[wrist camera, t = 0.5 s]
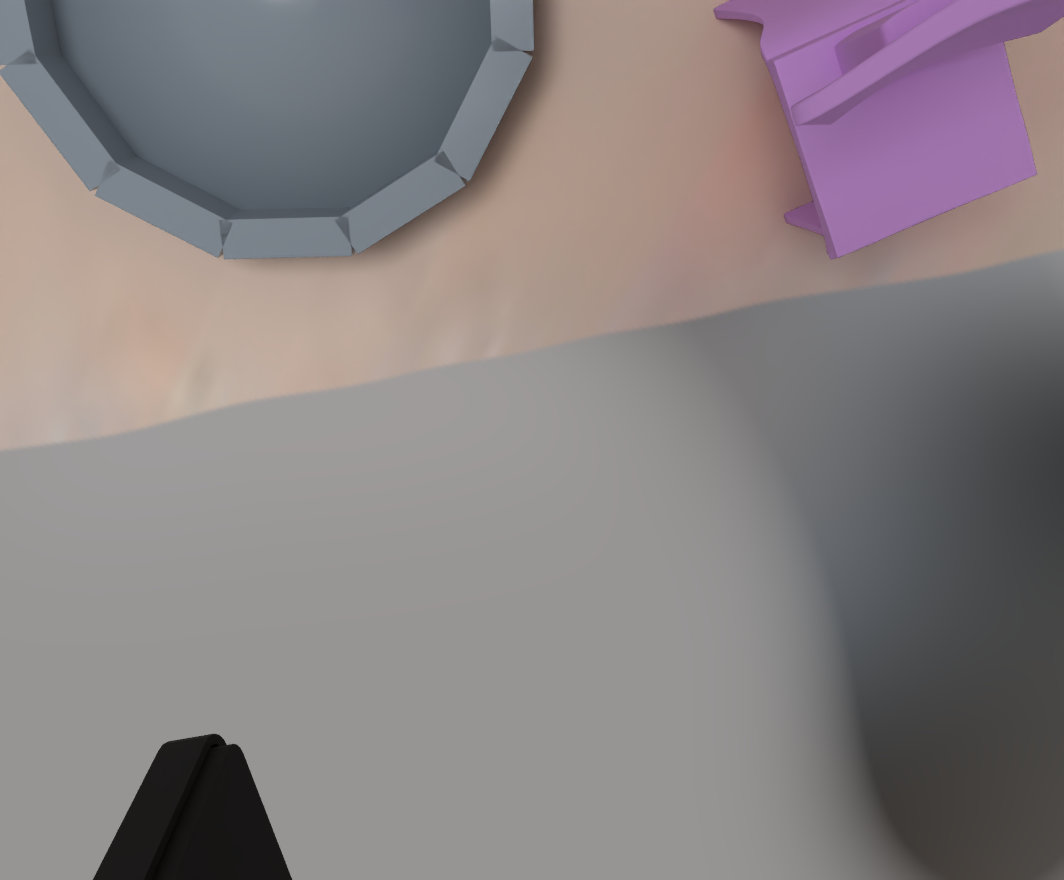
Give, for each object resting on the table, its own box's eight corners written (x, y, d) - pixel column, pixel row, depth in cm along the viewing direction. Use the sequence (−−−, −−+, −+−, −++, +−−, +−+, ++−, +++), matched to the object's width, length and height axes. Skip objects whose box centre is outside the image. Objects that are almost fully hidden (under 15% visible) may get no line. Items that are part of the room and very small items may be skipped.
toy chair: (765, 245, 39) (896, 366, 25) (686, 21, 36) (785, 17, 22) (974, 155, 38) (1235, 230, 24) (911, -85, 35) (1168, -160, 21)
